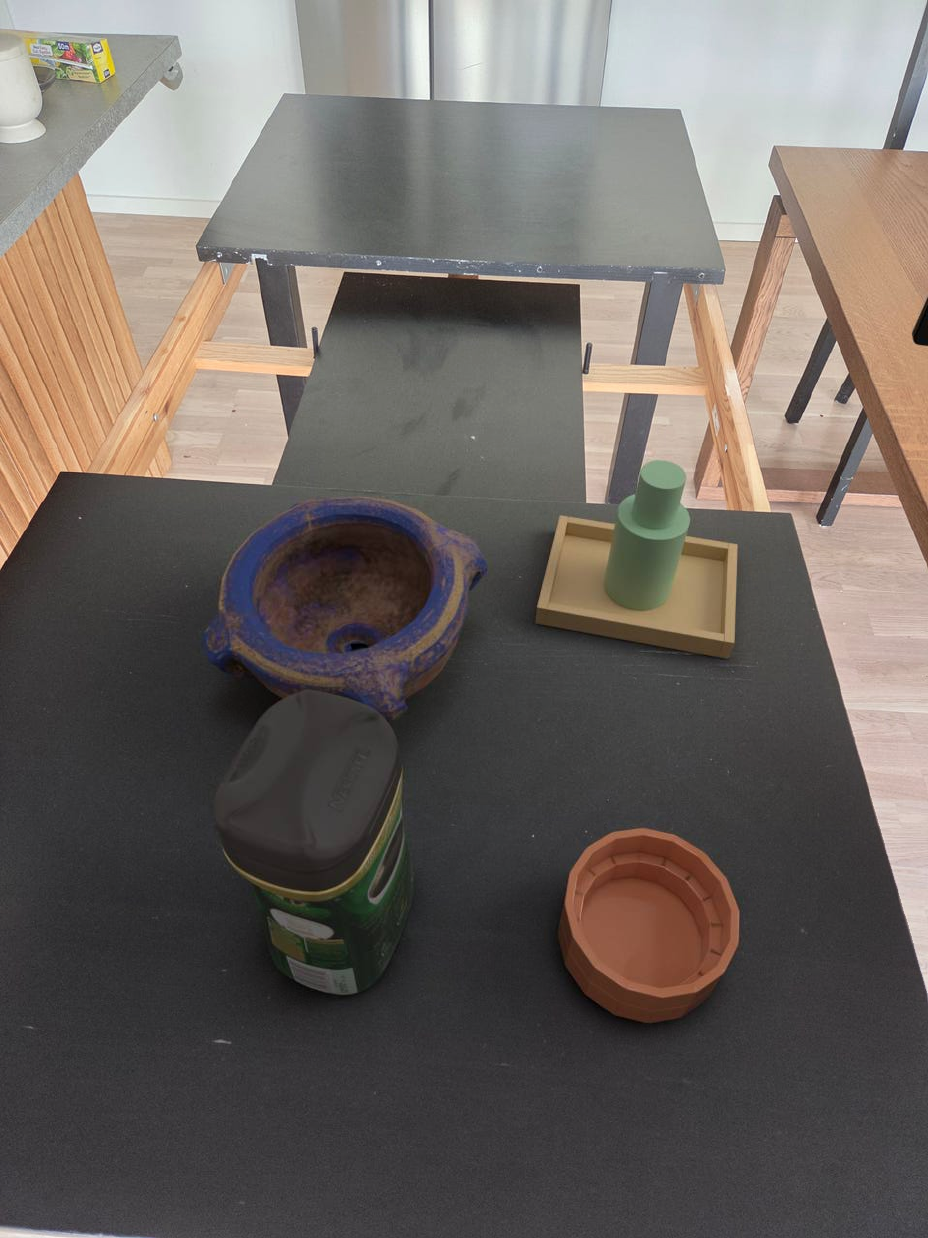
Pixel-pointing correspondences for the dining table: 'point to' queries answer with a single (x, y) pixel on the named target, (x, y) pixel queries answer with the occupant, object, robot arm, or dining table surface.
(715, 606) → the tray
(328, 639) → the bowl
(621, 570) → the bottle
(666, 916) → the clay bowl
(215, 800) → the coffee jar
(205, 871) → the dining table surface
